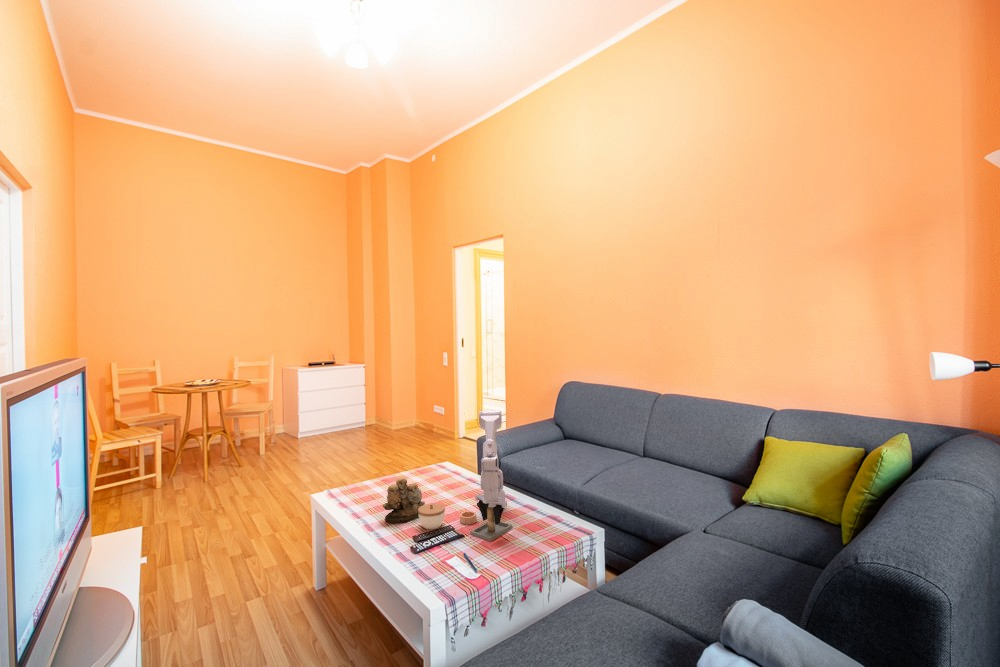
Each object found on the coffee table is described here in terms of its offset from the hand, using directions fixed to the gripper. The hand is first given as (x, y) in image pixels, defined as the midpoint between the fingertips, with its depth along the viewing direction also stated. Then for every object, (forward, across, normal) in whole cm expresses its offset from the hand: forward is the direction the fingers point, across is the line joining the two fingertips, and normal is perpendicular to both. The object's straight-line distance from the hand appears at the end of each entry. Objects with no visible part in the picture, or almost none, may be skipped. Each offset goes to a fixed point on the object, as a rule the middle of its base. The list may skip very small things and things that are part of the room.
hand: (491, 521), depth 183 cm
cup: (+4, -14, +2) cm, 15 cm away
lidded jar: (+5, -23, -10) cm, 25 cm away
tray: (+4, 0, 0) cm, 4 cm away
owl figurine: (+5, -40, -10) cm, 41 cm away
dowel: (+4, 0, 0) cm, 4 cm away
